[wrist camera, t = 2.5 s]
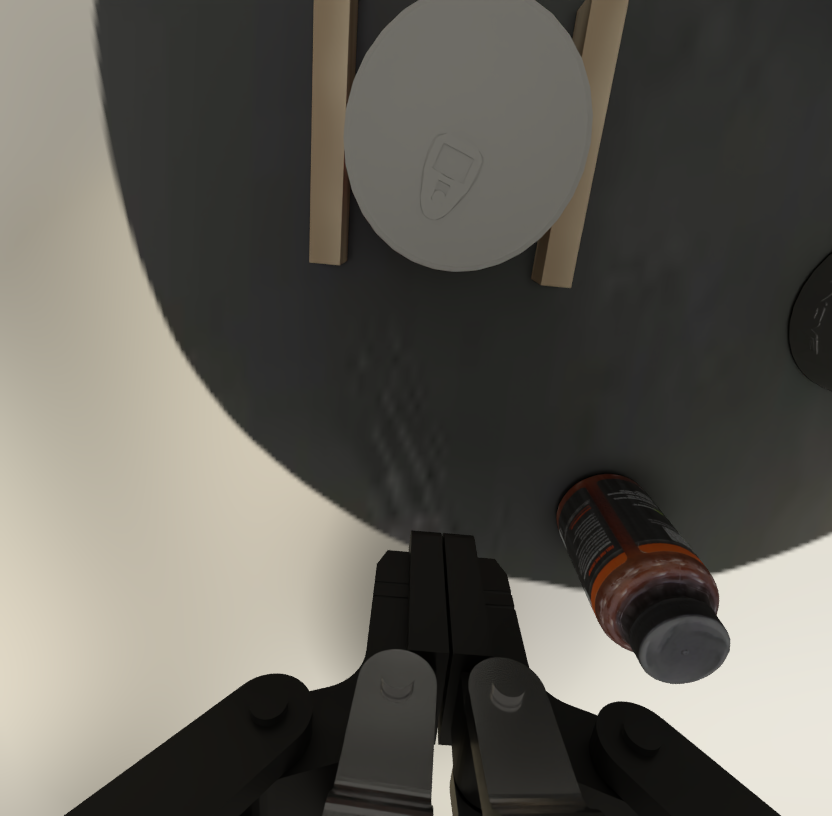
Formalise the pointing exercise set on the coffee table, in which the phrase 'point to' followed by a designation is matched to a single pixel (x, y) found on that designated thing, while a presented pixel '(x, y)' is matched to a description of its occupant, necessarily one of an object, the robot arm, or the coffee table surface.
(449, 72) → the canned food
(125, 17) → the coffee table surface
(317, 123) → the wooden bars
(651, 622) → the supplement bottle
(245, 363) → the coffee table surface
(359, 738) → the robot arm
